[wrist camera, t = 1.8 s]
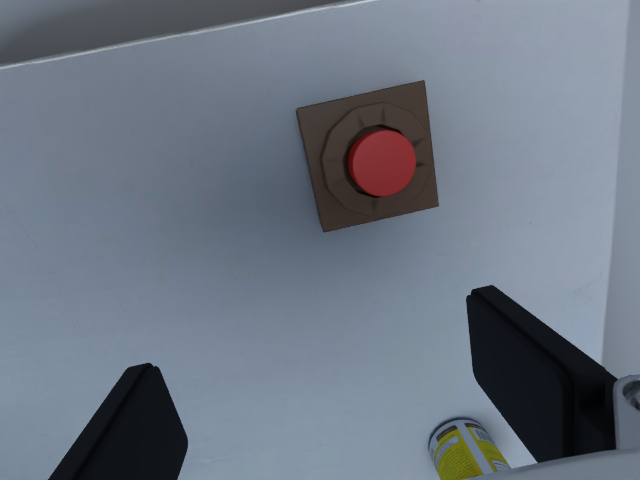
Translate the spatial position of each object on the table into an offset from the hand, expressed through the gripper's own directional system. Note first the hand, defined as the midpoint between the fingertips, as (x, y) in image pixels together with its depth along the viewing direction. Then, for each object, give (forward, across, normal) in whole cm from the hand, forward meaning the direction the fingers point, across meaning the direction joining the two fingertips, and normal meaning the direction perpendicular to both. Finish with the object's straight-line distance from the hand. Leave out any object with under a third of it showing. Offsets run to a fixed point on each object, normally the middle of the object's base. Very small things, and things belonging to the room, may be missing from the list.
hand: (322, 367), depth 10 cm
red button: (+12, -5, -4) cm, 14 cm away
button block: (+16, -5, -4) cm, 17 cm away
